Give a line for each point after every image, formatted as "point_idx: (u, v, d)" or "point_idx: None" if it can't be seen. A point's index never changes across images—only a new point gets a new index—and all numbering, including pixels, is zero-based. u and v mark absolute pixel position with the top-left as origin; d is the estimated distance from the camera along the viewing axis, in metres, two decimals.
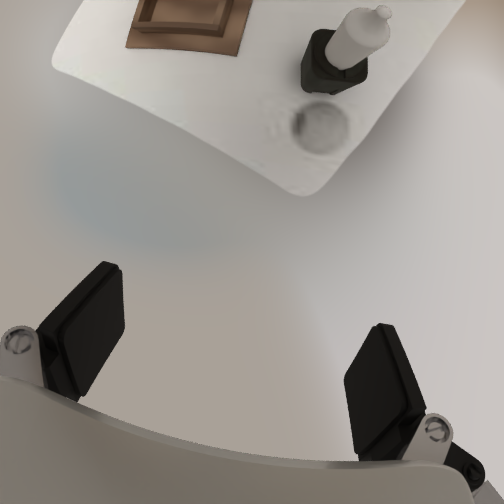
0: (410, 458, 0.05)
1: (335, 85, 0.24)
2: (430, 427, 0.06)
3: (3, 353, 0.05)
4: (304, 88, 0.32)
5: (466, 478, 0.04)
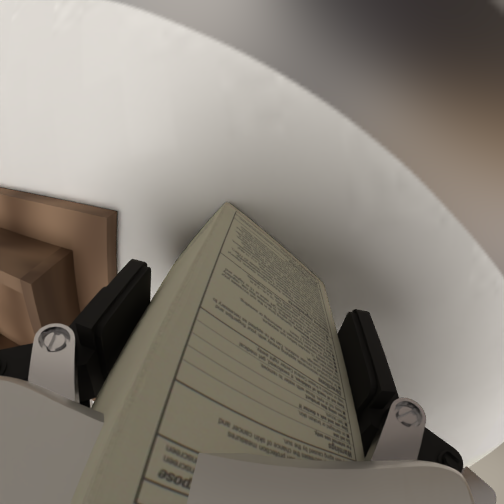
0: (384, 447, 0.05)
1: None
2: (401, 412, 0.06)
3: (38, 351, 0.05)
4: None
5: None
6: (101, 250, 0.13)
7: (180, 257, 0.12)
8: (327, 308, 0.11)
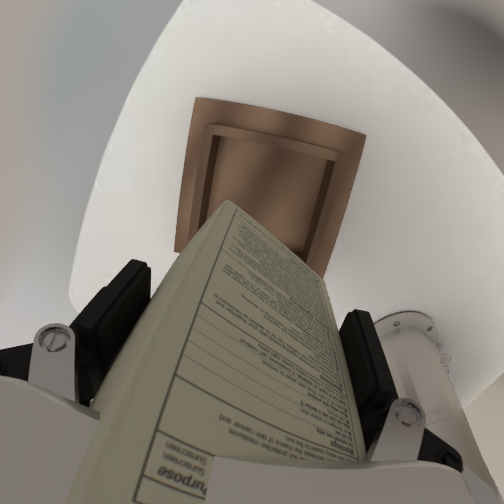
0: (384, 447, 0.05)
1: None
2: (400, 412, 0.06)
3: (38, 351, 0.05)
4: None
5: None
6: (358, 151, 0.25)
7: (180, 254, 0.12)
8: (328, 306, 0.11)
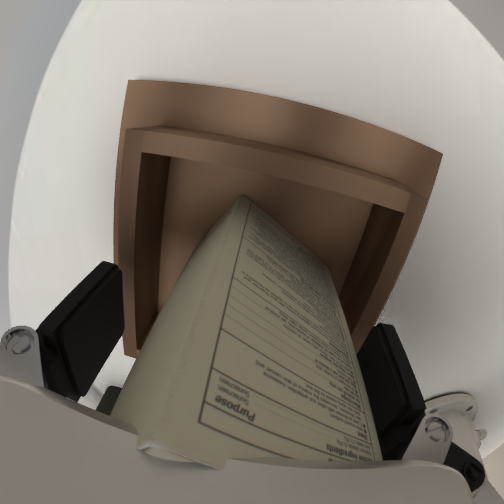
0: (410, 458, 0.05)
1: None
2: (430, 427, 0.06)
3: (3, 353, 0.05)
4: (101, 399, 0.22)
5: (466, 478, 0.04)
6: (429, 183, 0.13)
7: (200, 244, 0.13)
8: (333, 289, 0.13)
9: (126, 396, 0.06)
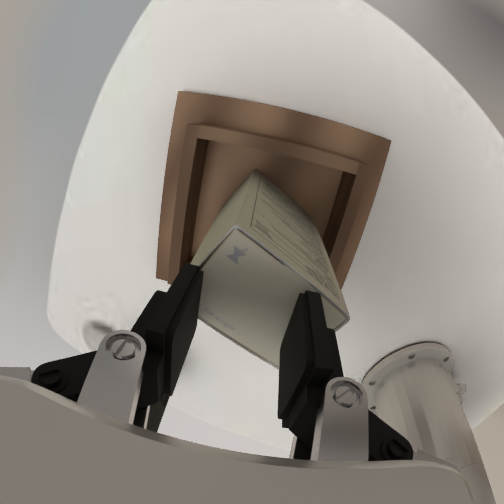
0: (329, 435, 0.05)
1: None
2: (338, 393, 0.07)
3: (108, 360, 0.06)
4: None
5: (384, 454, 0.05)
6: (381, 160, 0.20)
7: (228, 200, 0.20)
8: (315, 228, 0.20)
9: (202, 251, 0.13)
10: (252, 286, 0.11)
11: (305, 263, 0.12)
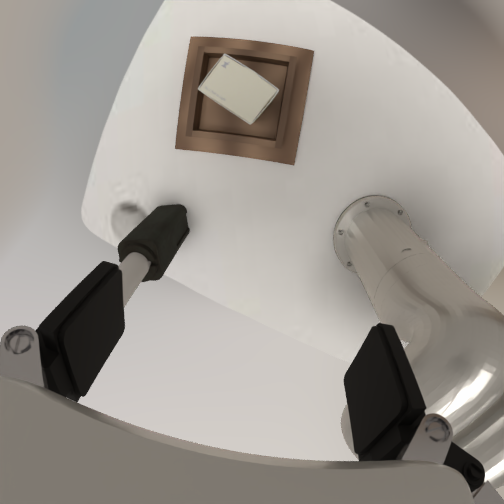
0: (410, 458, 0.05)
1: None
2: (430, 427, 0.06)
3: (3, 353, 0.05)
4: None
5: (466, 478, 0.04)
6: (309, 61, 0.31)
7: None
8: None
9: None
10: (232, 77, 0.23)
11: None
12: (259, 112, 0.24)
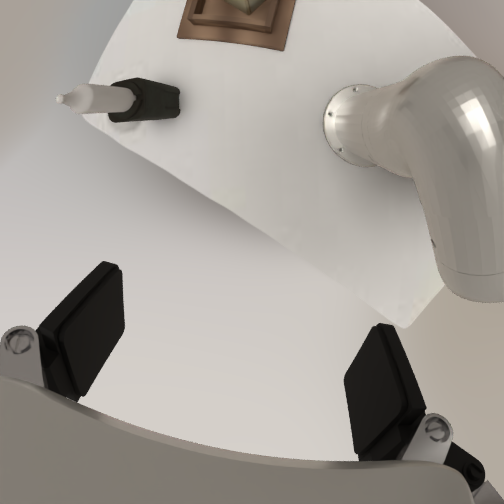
0: (410, 458, 0.05)
1: None
2: (430, 427, 0.06)
3: (3, 353, 0.05)
4: None
5: (466, 478, 0.04)
6: None
7: None
8: None
9: None
10: None
11: None
12: None
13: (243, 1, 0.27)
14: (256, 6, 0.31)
